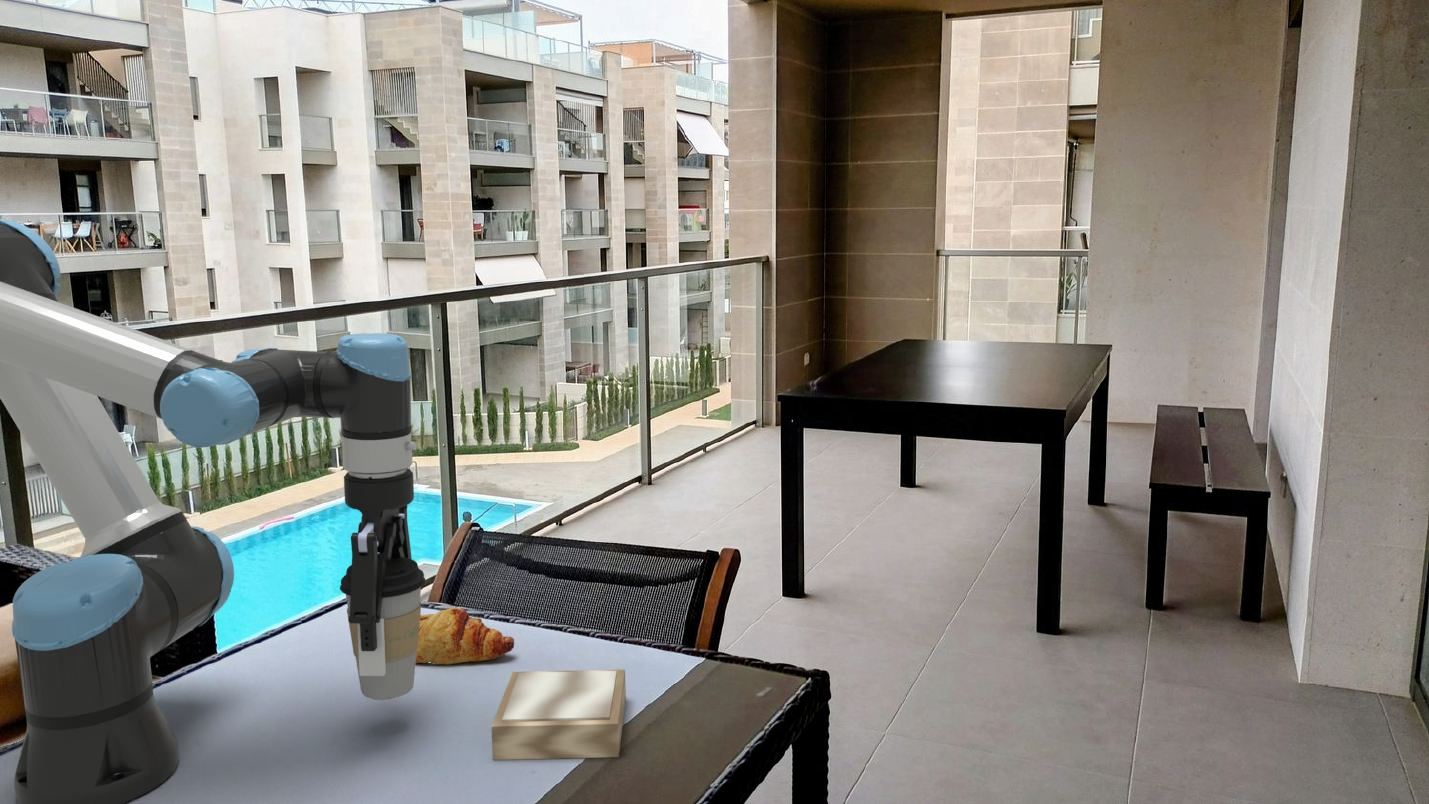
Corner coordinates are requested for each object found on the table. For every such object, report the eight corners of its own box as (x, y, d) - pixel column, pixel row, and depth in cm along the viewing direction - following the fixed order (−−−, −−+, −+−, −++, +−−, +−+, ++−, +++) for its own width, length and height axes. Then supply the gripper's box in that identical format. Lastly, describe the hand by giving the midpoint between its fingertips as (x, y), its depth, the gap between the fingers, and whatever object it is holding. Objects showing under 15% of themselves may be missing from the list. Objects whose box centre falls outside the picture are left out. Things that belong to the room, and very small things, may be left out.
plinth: (493, 759, 113) (491, 724, 112) (513, 701, 126) (512, 669, 126) (618, 757, 113) (617, 721, 112) (625, 699, 127) (625, 667, 126)
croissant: (369, 677, 142) (349, 640, 137) (400, 621, 150) (382, 584, 145) (508, 689, 137) (492, 651, 132) (533, 631, 144) (519, 593, 140)
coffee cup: (404, 711, 114) (399, 584, 111) (328, 701, 116) (322, 577, 113) (442, 675, 123) (439, 557, 120) (371, 667, 125) (367, 551, 122)
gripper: (383, 496, 104) (391, 699, 108) (435, 449, 126) (440, 619, 130) (309, 495, 104) (320, 698, 108) (374, 448, 126) (381, 619, 129)
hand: (385, 655), depth 119 cm, fingers closed on coffee cup, 9 cm apart
